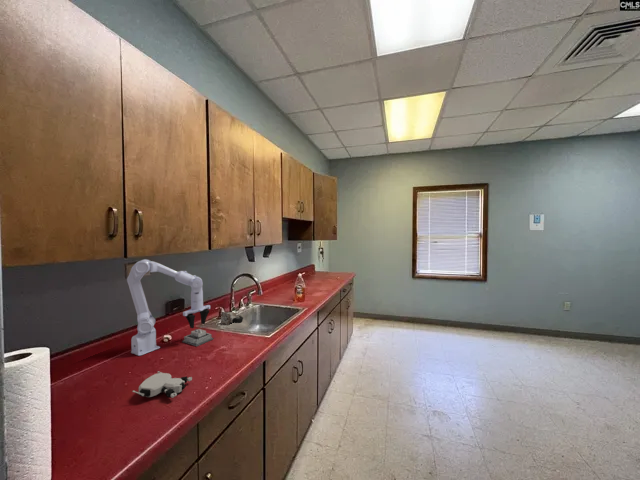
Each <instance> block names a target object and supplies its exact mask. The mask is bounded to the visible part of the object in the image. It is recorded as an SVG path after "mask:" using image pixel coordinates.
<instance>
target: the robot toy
mask: <svg viewBox="0 0 640 480" xmlns="http://www.w3.org/2000/svg"><path fill="white" fill-rule="evenodd" d="M192 380H193V377H192V376H189V377H188V376H181V377H174V378H173V377H172V375H171V374H170V373H169V372H168V373H167V372H162V371H157V373H154V374H152V375H150V376H149V377H148V378H145V379H144V380H143V381H142V383H140V385H139V386H138V391H136V390H132V393H135V394H138V395H139V396H140V397H144V398H145V397H146V398H152V397H156V396H157V395H159V394H160V393H163V394H165V395H166V397H167V398H172V399H173V398H175V397H177V395H178V394H179V393H181V392H182V391H184V390H185V388H186V384H187V382H191V381H192Z"/></svg>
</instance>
